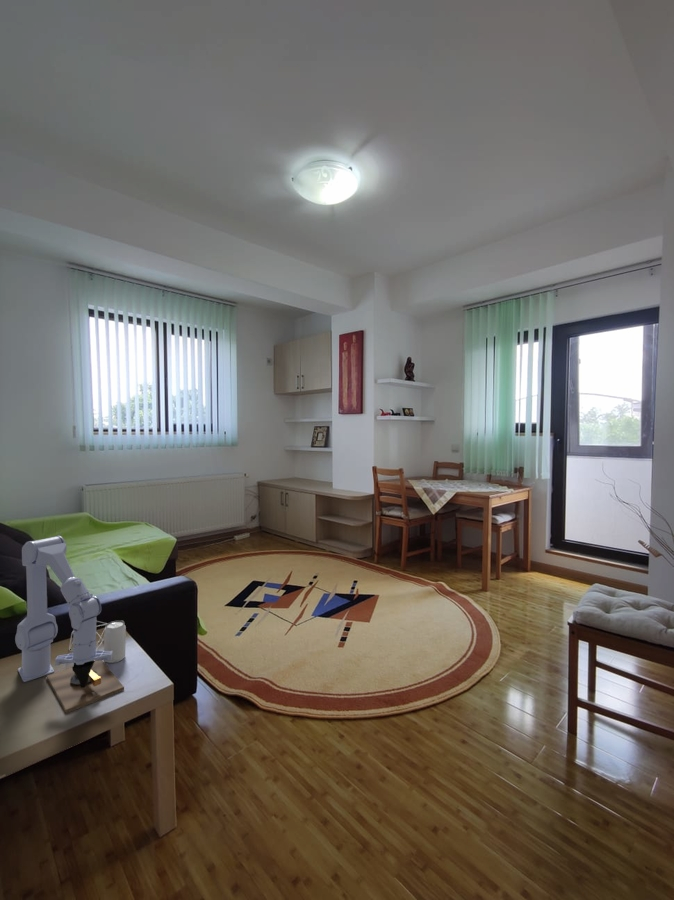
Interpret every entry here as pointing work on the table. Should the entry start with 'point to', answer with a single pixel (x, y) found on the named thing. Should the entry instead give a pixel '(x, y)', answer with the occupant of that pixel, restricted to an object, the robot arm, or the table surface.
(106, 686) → the stand
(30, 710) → the table surface
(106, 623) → the geometric polyhedron
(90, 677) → the lever door handle
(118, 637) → the can
